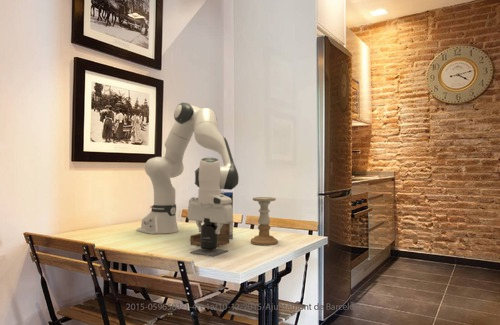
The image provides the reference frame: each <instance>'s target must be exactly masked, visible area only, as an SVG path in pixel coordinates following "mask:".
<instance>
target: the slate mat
mask: <svg viewBox="0 0 500 325" xmlns="http://www.w3.org/2000/svg"><path fill="white" fill-rule="evenodd" d="M225 253H228V249H223V248H218V247H217V248H216V249H202V248H201V247H200V248H198V249H195V250H192V251H190V254H193V255H199V256H207V257H217V256H220V255H222V254H225Z"/></svg>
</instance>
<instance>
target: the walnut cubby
mask: <svg viewBox="0 0 500 325" xmlns="http://www.w3.org/2000/svg"><path fill="white" fill-rule="evenodd" d="M215 224H216V225H217V223H215ZM189 240H190V246H195V247H200V243H201V232H199V233H196V234H191V235H190V239H189ZM230 240H231V239H230V223H229V224H223V226H222V227H221V229H220V234H218V246H217V248H219V247H221V246H225V245H228V244H230Z"/></svg>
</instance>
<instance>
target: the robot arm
mask: <svg viewBox="0 0 500 325" xmlns="http://www.w3.org/2000/svg"><path fill="white" fill-rule="evenodd" d="M174 109H175V110H174V113H173V117H174V120H175V122H174V123H173V125H172V126H171V129H170V131H169V132H168V135H167V137H166V140H165V142H164V147H165V154H164V156H163V157H162V156H155V157H151V158H149V159H148V160H147V161H146V162H145V164H144V171H145V173H146V175H147V176H148V177H149V179H150V181H151V185H152V188H153V205H150V206H149V207H150V209H151V210H150V212H149V213H148V214H147V215H145V217H143V218H142V219H141V224H140V227H137V228H136V231H137V232H139V233H145V234H150V235H157V234H159V235H160V234H173V233H177V232H179V228H178V222H177V204H176V189H175V187H174V186H173V184H172V180H171V179H172V178H177V177H179V176H181V175H182V173H183V172H184V168H185V167H184V163H183V159H184V157H185V156H184V154H185V152H186V150H187V147H188V146H189V143H190V141H191V140H192V137H193V134H194V140H195V142H196V143H197V144H198V145H199V146H200V147H203V148H204V149H208V150H211V151H213V152H216V153H217V154H219V155H220V156H221V160H222V164H223V165H222V166H221V165H220V163H221V162H220V159H218V158H215V157H203V158H201V159H200V162H199V167H198V168H197V169H196V170H195V171H194V184H195V186H196V187H197V188H198V195H197V196H198V197H193V196H192V197H191V198H190V199H189V200H188V206H187V207H188V208H187V215H186V217H187V220H188V221H193V222H195V221H196V222H195V224H196V226H197V227H198V232H199V233H201V226H202V225H203V224H202V223H204V218H209V219H210V222H213V223H217V226H218V227H217V229H216V230H215V234H220V229H221V227H222V226H223V224H229V223H231V222H232V221H234V209H233V210H232V206H231V205H230V204H229V203H231V202H232V200H231V198H229V197H227V196H225V195H223V194H221V192H222V191H221V190H229V191H231V190H233V189H235V188H236V187H237V186H238V184H239V179H240V177H239V176H240V175H239V173H238V169H237V167H236V164H235V162H234V158H233V156H232V153H231V149H230V145H229V143H228V140H227V139H226V137H224V136H223V135H222V134H221V133H220V131H219V125H218V118H217V115H216V113H215V112H214V111H213V110H212V109H211V108H208V107H203V108H201V107H199V106H196V105H192V104H190V103H187V102H180V103H179V104H178V105H177V106H176V108H174Z"/></svg>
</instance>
